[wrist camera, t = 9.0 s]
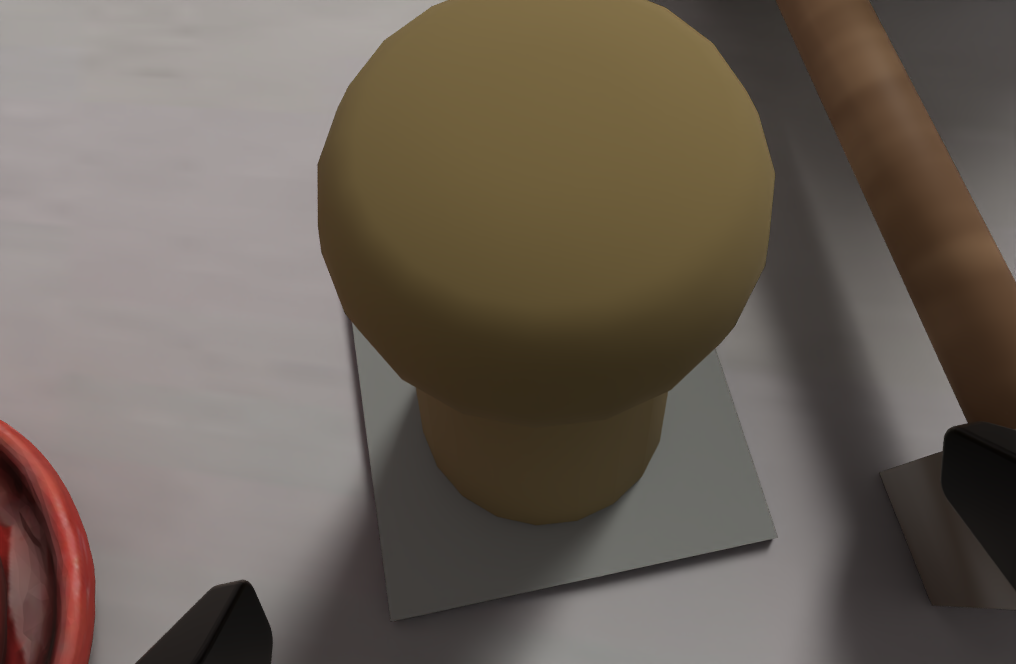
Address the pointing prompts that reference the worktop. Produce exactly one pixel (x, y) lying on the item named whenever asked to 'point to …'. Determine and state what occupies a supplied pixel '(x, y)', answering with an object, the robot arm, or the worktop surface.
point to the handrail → (921, 270)
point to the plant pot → (41, 562)
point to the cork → (545, 234)
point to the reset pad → (560, 546)
